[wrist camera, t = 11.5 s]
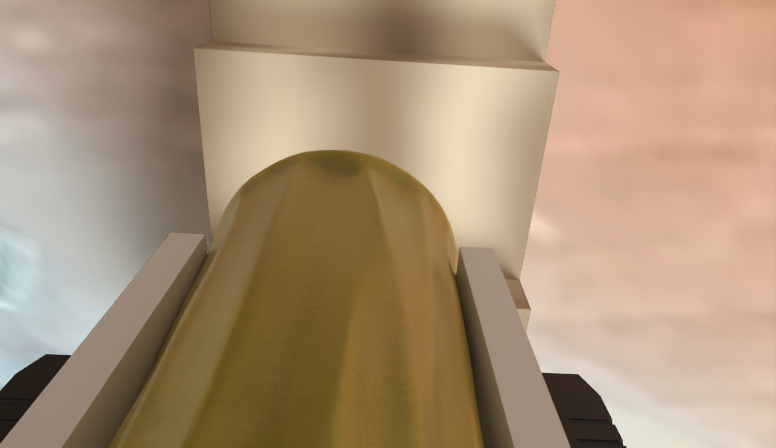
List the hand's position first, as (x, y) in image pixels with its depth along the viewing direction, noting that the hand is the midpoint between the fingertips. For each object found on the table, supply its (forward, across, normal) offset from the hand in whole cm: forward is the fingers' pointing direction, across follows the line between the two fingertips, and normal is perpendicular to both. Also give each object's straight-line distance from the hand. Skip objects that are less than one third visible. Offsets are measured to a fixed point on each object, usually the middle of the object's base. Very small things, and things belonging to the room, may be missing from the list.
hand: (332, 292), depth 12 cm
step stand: (+12, +1, -2) cm, 12 cm away
